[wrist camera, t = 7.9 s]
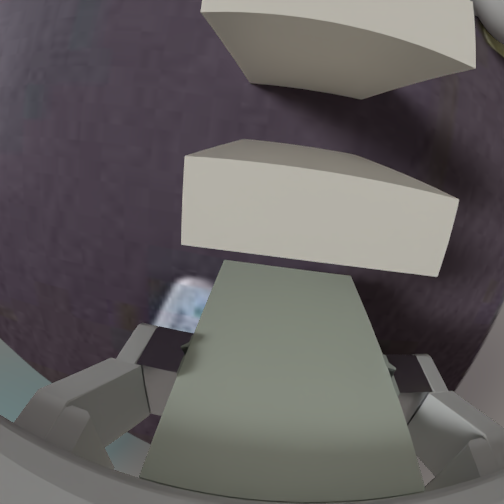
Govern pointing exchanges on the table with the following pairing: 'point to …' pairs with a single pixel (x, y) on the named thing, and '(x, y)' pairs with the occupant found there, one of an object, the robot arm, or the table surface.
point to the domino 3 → (284, 397)
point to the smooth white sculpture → (491, 16)
